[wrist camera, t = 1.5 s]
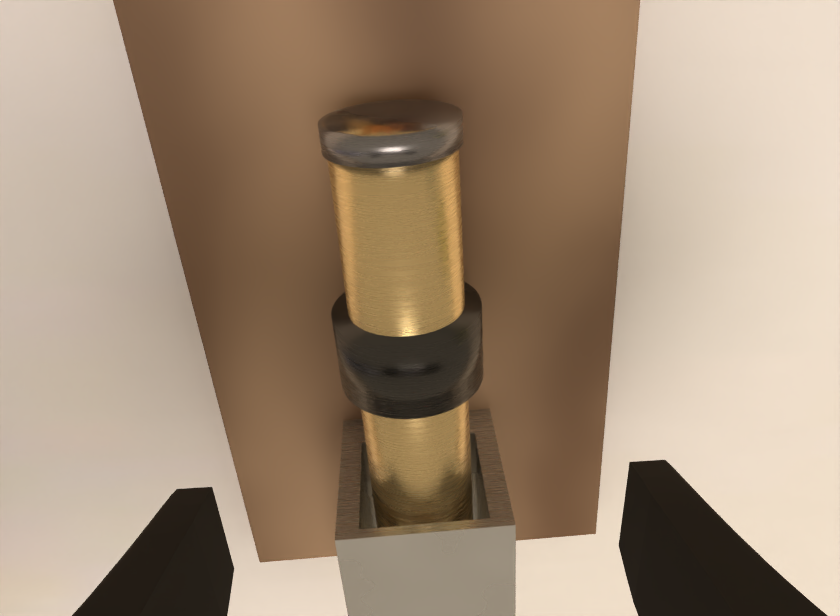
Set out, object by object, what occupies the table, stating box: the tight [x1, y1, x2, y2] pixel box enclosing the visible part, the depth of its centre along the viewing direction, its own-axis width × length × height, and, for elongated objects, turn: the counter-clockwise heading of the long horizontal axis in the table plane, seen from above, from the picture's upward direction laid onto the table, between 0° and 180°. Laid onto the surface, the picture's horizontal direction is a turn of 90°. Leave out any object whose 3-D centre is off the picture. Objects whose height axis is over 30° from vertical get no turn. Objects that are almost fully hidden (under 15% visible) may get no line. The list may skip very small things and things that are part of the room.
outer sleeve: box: [335, 409, 516, 616], centre depth 21 cm, size 5×6×5 cm
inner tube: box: [318, 99, 484, 528], centre depth 18 cm, size 4×16×4 cm, turn 4°
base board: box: [113, 0, 640, 562], centre depth 18 cm, size 12×27×1 cm, turn 4°
